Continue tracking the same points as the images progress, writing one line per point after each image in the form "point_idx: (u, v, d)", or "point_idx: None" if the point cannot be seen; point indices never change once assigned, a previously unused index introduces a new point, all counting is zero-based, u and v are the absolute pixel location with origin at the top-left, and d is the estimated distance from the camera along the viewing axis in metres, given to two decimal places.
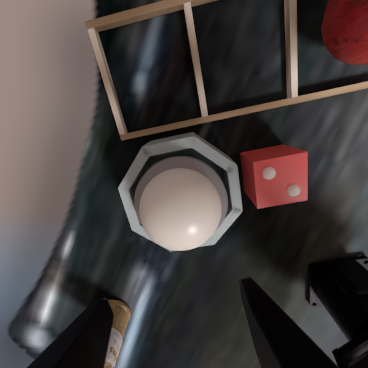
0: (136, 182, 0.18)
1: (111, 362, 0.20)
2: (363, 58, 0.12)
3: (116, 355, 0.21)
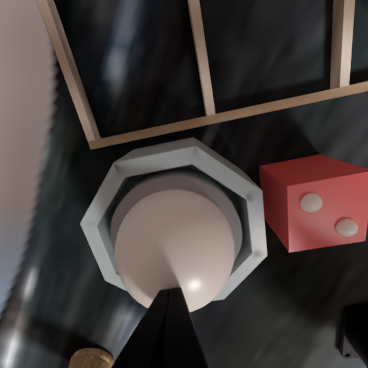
0: (113, 208, 0.13)
1: None
2: None
3: None
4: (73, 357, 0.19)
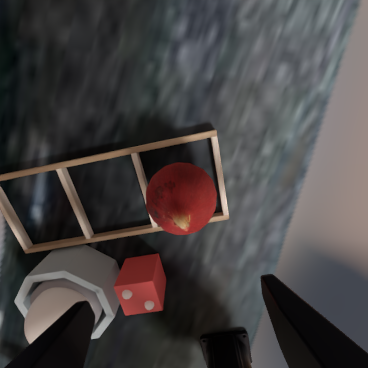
0: None
1: None
2: None
3: None
4: None
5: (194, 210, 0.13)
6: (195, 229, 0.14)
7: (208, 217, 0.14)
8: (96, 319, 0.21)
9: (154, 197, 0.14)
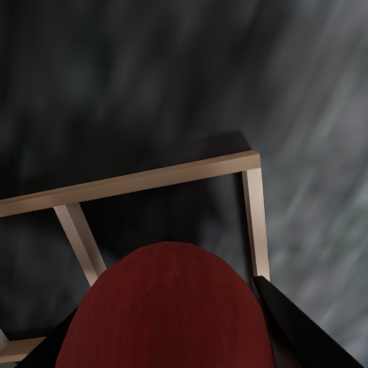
0: None
1: None
2: None
3: None
4: None
5: None
6: None
7: None
8: None
9: None
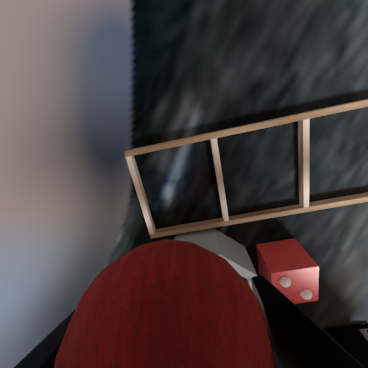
0: None
1: None
2: None
3: None
4: None
5: None
6: None
7: None
8: None
9: None
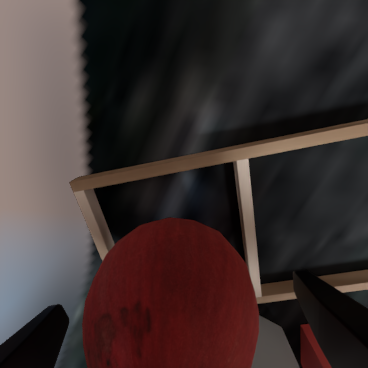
0: None
1: None
2: None
3: None
4: None
5: None
6: None
7: None
8: None
9: (93, 347, 0.05)
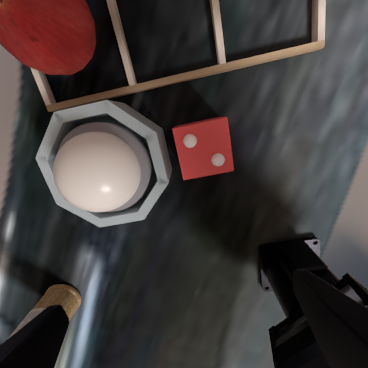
0: None
1: None
2: (38, 70, 0.13)
3: None
4: (46, 291, 0.24)
5: None
6: (38, 33, 0.10)
7: (60, 23, 0.11)
8: (143, 188, 0.16)
9: None
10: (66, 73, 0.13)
